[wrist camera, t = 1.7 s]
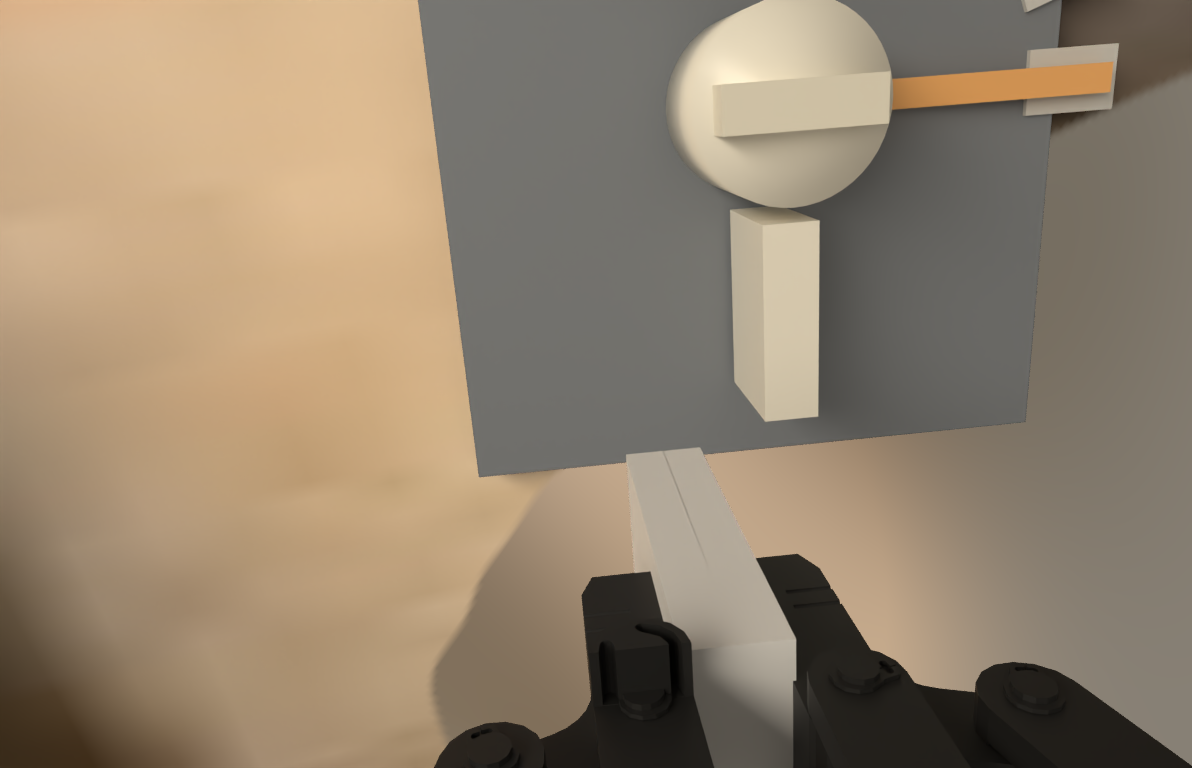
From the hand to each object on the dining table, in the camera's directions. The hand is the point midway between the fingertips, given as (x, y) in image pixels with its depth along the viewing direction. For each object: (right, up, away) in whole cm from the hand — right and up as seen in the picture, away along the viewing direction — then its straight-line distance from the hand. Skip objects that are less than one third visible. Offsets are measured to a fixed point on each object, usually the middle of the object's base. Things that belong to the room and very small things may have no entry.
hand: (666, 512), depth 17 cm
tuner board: (+5, +13, +14) cm, 20 cm away
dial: (+9, +9, +14) cm, 19 cm away
